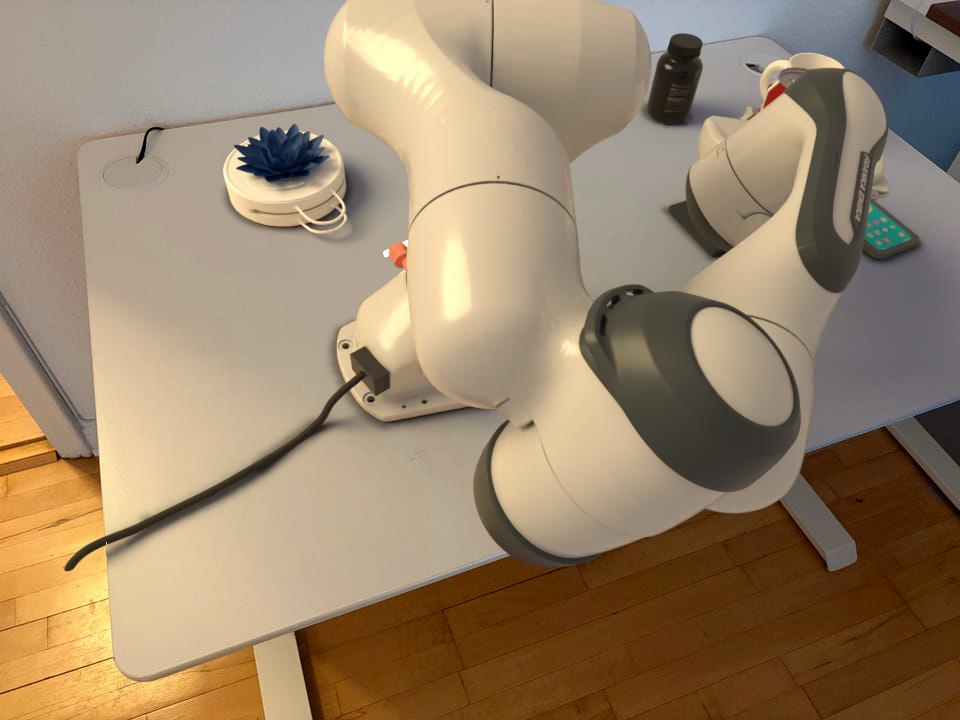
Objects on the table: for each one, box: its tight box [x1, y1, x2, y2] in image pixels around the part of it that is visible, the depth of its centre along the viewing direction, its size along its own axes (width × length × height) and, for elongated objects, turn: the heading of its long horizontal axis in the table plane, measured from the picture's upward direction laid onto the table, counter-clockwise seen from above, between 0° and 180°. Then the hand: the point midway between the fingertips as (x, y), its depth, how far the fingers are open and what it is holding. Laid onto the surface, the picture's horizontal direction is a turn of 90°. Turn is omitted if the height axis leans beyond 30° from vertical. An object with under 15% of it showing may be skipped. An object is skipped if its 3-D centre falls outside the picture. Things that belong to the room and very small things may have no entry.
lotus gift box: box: [222, 123, 348, 235], centre depth 95 cm, size 7×16×20 cm
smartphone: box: [862, 201, 920, 260], centre depth 100 cm, size 9×1×15 cm
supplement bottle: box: [646, 32, 704, 125], centre depth 110 cm, size 7×7×12 cm
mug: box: [759, 52, 846, 99], centre depth 111 cm, size 12×8×10 cm
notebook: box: [667, 200, 727, 258], centre depth 98 cm, size 12×10×1 cm
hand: (784, 117), depth 87 cm, fingers closed on soda can, 6 cm apart
